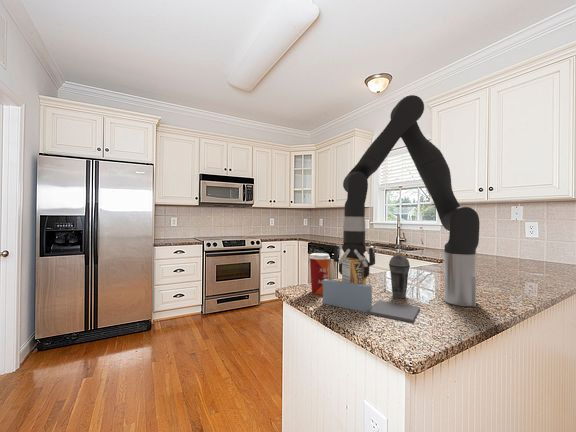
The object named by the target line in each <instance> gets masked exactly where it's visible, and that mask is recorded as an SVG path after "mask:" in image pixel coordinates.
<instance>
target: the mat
mask: <svg viewBox="0 0 576 432" xmlns="http://www.w3.org/2000/svg"><path fill="white" fill-rule="evenodd" d="M420 310H421V309H420V306H417V305H411V304H410V305H409V304H404V303H397V302H393V301H392V302H391V301H387V300H386V301H385V300H380V299H378V300H377V301H376V302H375V303H374V304H373V305H372V309H370V310H367V312H366V313H367V315H368V314H369V315H373V316H378V317H383V318H386V319H387V318H389V319H394V320H398V321H402V322H403V321H404V322H408V323H414V322H415V320H416V318H417V317H418V314H419V312H420Z"/></svg>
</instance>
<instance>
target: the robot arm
mask: <svg viewBox="0 0 576 432" xmlns="http://www.w3.org/2000/svg"><path fill="white" fill-rule="evenodd" d="M424 111H425V103H424V101H423V99H422V98H421V97H419V96H418V95H415V94H412V95H411V94H410V95H407V96H405V97H402V98H401V99H400V100H399V101H398V102H397V104H396V105H395V106H394V107H393V109H391V112H390V115H389V116H390V117H389V119H390V121H389V122H388V123H387V125H386V126H385V127H384V129H382V131H381V133H379V135H378V136H377V137H376V138H375V139H374V141H373V142H371V144H370V145H369V146H368V148H367V149H366V151H364V154H362V156H361V158H360V159H359V160H358V162H357V163H356V164H355V166H354V167H352V169H351V170H350V171H349V172H348V173H347V175H346V176H345V177H344V179H343V182H342V187H343V189H344V191H345V192H346V193H347V195H346V197H347V198H346V201H345V203H344V213H343V214H344V216H343V217H344V218H343V226H342V228H343V229H342V230H343V233H342V239H343V241H342V245H341V244H335V245H334V248H333V249H334V251H333V254H334V255H333V262H335V263H338V273H340V275H341V276H342V258H356V259H360V261H361V262H362V263H363V264H364V266H365V267H364V278H366V279H367V278H368V277H369V276H370V267H371V266H374V265H375V264H376V251H375V247H374V246H371V247H366V217H365V216H366V213H365V211H366V199H367V195H368V188H369V187H368V186H369V182H368V179H369V178H370V177H371V176H372V175H373V174H374V173H376V171H377V170H378V169H379V168H380V167H381V165H382V164H383V163H384V161H385V160H386V158H387V157H388V155H389V154H390V153H391V151H392V149H393V148H394V147H395V145H396V144H397V143H398V142H399V140H400V138H401V140H402V141H403V143H404V146H405V147H406V149H407V151H408V153H409V156H410V158H411V159H412V161H413V164H414V166H415V168H416V170H417V172H418V174H419V177H420V179H421V180H422V182H423V184H424V186H425V188H426V190H427V192H428V193H429V195H430V197H431V200H432V201H433V204H434V207H435V209H436V212H437V215H438V217H439V220H440V223H441V225H442V227H443V228H444V229H445V230H446V231H448V232H449V233H448V235H449V236H448V240H447V242H446V243H445V244H444V247H443V249H444V250H443V251H444V252H443V253H444V256H443V257H444V262H443V263H444V264H443V265H444V266H443V268H444V269H443V270H444V273H443V279H444V280H443V281H444V283H443V284H444V285H443V286H444V287H443V288H444V289H443V290H444V291H443V293H444V294H443V297H444V298H443V299H444V300H443V301H444V302H445V303H448V304H450V305H454V306H459V307H473V308H475V307H477V303H476V302H477V295H476V294H477V278H476V276H477V273H476V271H477V270H476V268H477V267H476V266H477V264H476V262H477V261H476V260H477V256H476V254H477V253H476V252H477V248H478V246H479V243H480V240H479V239H480V227H481V226H480V217H479V214H478V212H477V211H476V210H475V209H474V208H472V207H470V206H461V205H460V203H459V201H458V199H457V197H456V196H455V194H454V192H453V186H452V175H451V171H450V167H449V164H448V163H447V161H446V159H445V156H444V155H443V153H442V152H441V150H440V149H439V148H438V147H437V146H436V145H435V144H433V142H432V141H430V140H429V139H427V138H426V136H425V135H424V134H423V132H422V130H421V128H420V126H419V123H418V120H420V118H422V116H423V114H424ZM341 251H343V254H342V256H341ZM366 252H367V254H368V256H369V258H367V256H366V255H365V253H366ZM340 256H341V257H340Z"/></svg>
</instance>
